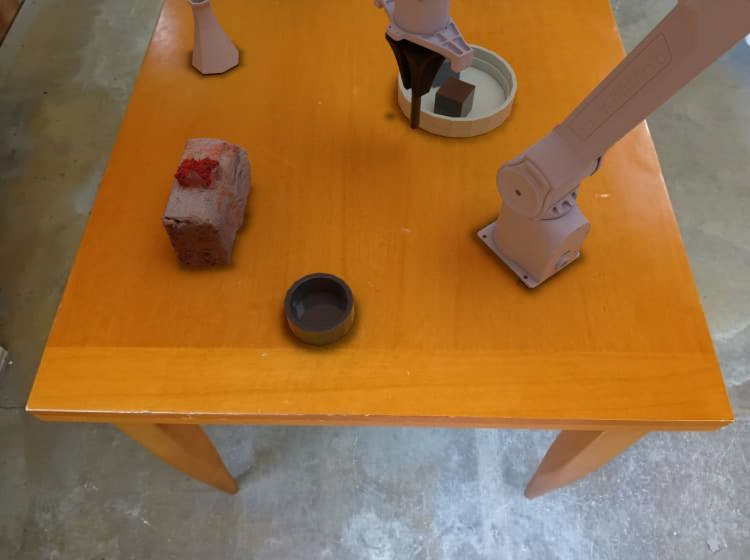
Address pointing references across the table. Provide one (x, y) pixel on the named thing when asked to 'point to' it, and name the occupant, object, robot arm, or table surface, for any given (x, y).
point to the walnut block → (454, 98)
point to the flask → (210, 41)
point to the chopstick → (415, 112)
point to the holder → (319, 308)
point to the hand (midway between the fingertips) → (416, 89)
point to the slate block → (444, 74)
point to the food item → (207, 201)
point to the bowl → (488, 102)
